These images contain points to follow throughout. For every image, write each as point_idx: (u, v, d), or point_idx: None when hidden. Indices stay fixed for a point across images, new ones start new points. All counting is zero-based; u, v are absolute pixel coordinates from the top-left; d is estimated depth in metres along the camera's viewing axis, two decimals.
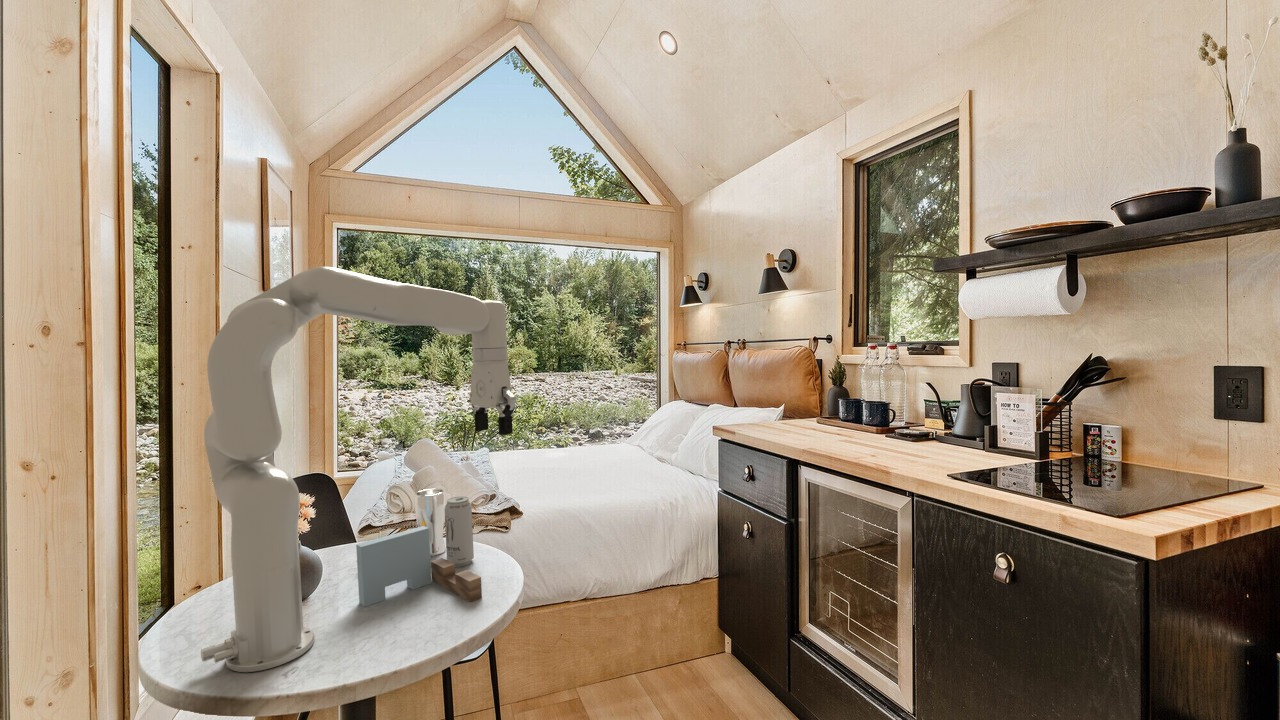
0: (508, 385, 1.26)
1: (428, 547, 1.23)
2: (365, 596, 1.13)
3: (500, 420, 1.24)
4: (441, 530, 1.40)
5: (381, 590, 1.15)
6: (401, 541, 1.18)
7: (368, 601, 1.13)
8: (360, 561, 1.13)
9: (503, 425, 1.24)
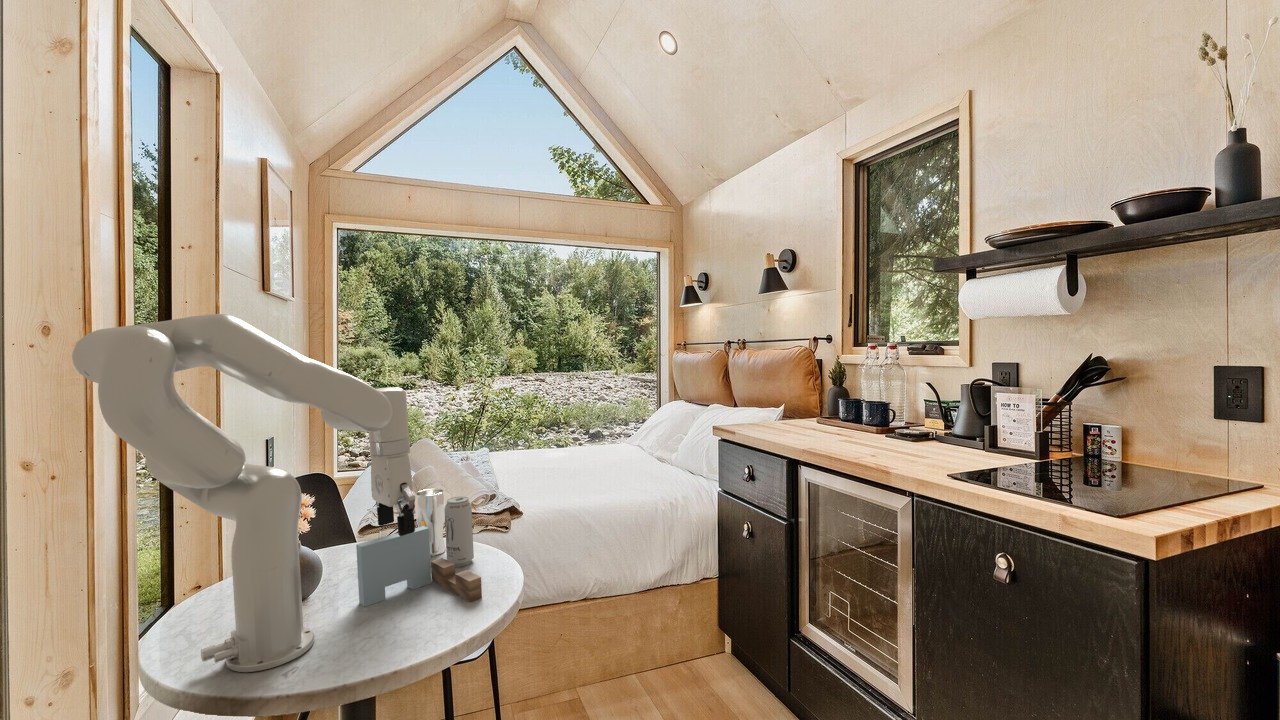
0: (409, 480, 1.16)
1: (428, 547, 1.23)
2: (365, 596, 1.13)
3: (399, 520, 1.14)
4: (441, 530, 1.40)
5: (381, 590, 1.15)
6: (401, 541, 1.18)
7: (368, 601, 1.13)
8: (360, 561, 1.13)
9: (403, 525, 1.14)
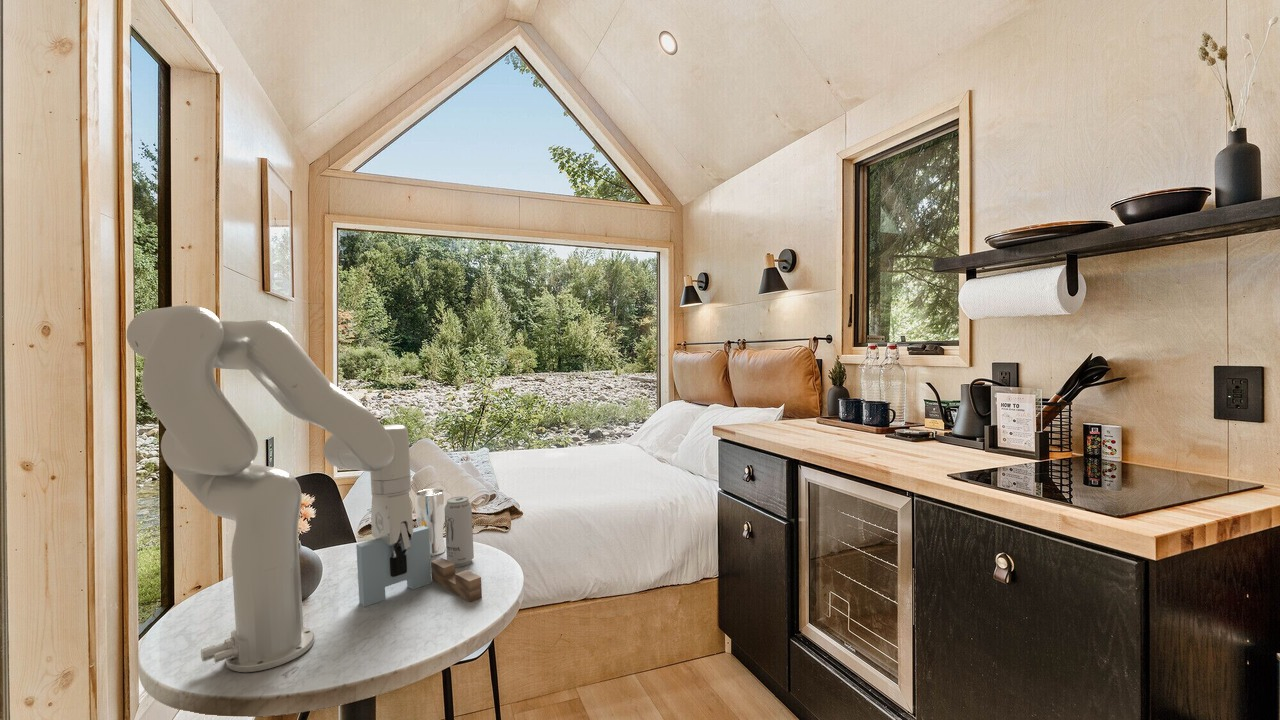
0: (409, 519, 1.16)
1: (428, 547, 1.23)
2: (365, 596, 1.13)
3: (392, 561, 1.16)
4: (441, 530, 1.40)
5: (381, 590, 1.15)
6: None
7: (368, 601, 1.13)
8: (360, 561, 1.13)
9: (395, 566, 1.17)
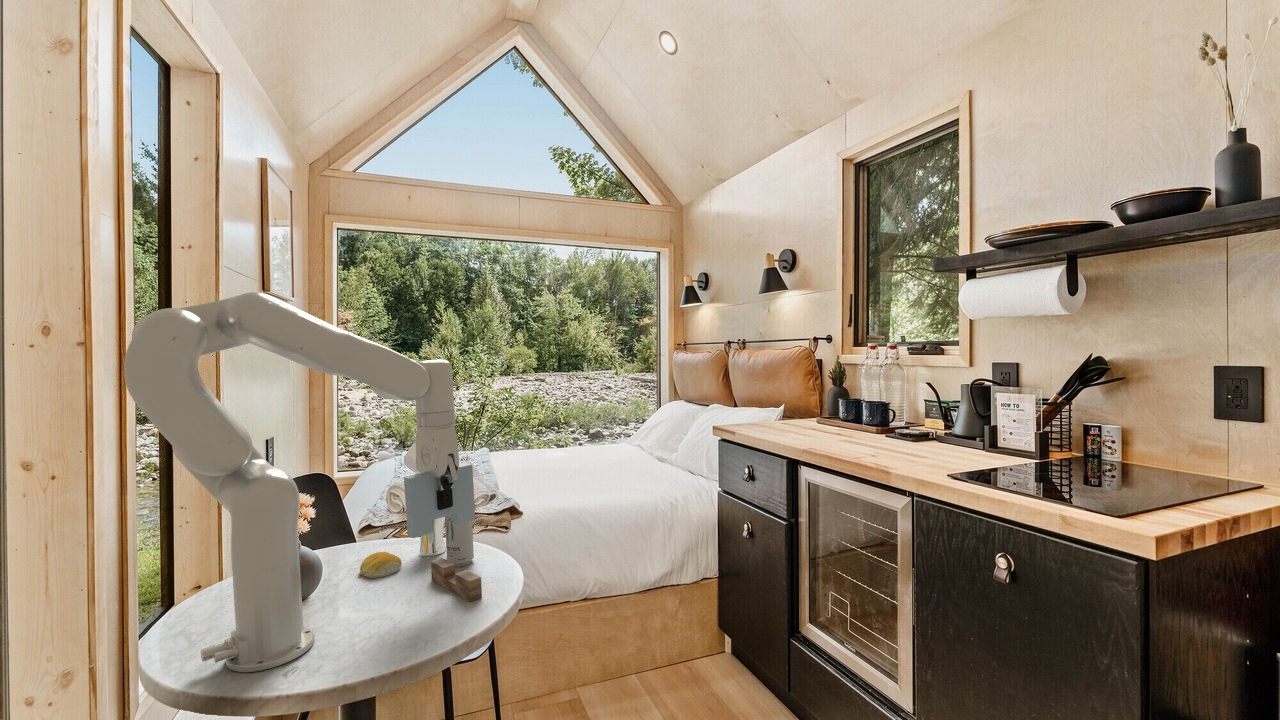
0: (455, 452, 1.16)
1: (472, 483, 1.23)
2: (414, 528, 1.14)
3: (438, 494, 1.17)
4: (441, 530, 1.40)
5: (429, 523, 1.16)
6: None
7: (417, 533, 1.14)
8: (408, 493, 1.13)
9: (442, 499, 1.17)
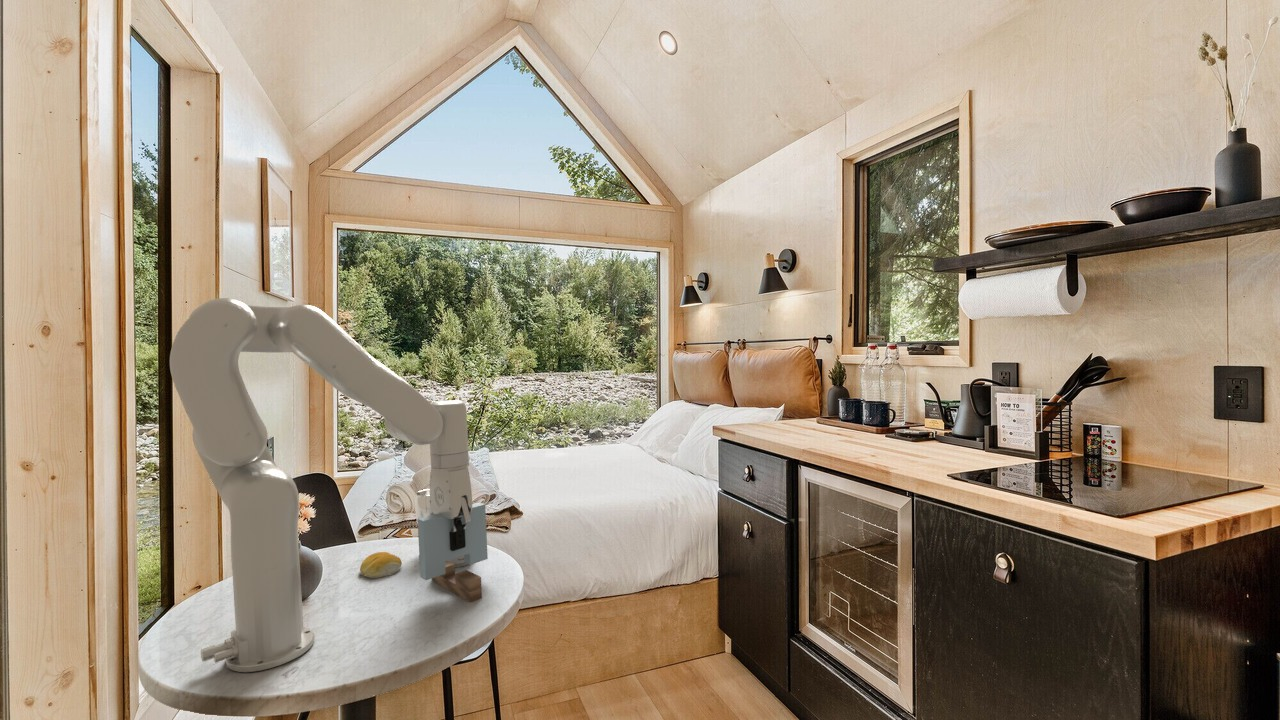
0: (469, 493, 1.17)
1: (485, 523, 1.23)
2: (427, 570, 1.14)
3: (451, 535, 1.17)
4: None
5: (441, 564, 1.16)
6: None
7: (430, 575, 1.14)
8: (422, 535, 1.14)
9: (455, 540, 1.17)
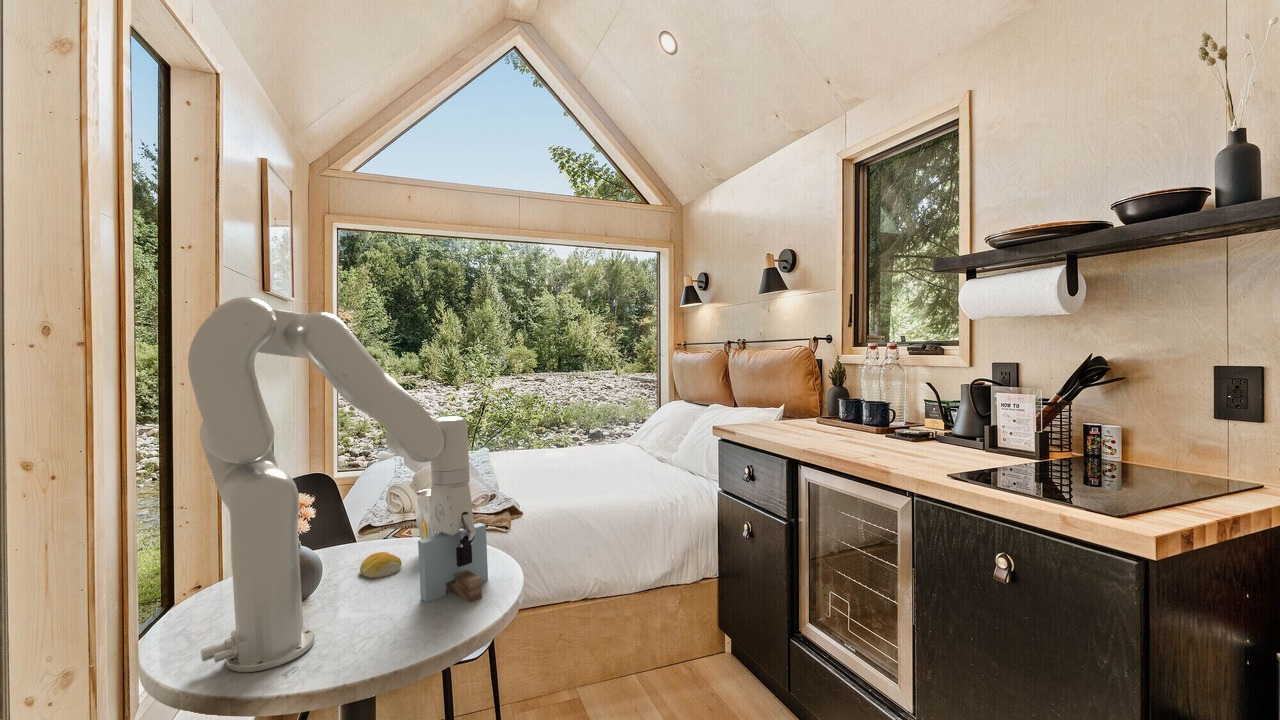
0: (469, 510, 1.17)
1: (485, 544, 1.24)
2: (427, 592, 1.14)
3: (458, 551, 1.16)
4: None
5: (442, 586, 1.16)
6: None
7: (430, 597, 1.14)
8: (422, 557, 1.14)
9: (461, 556, 1.16)
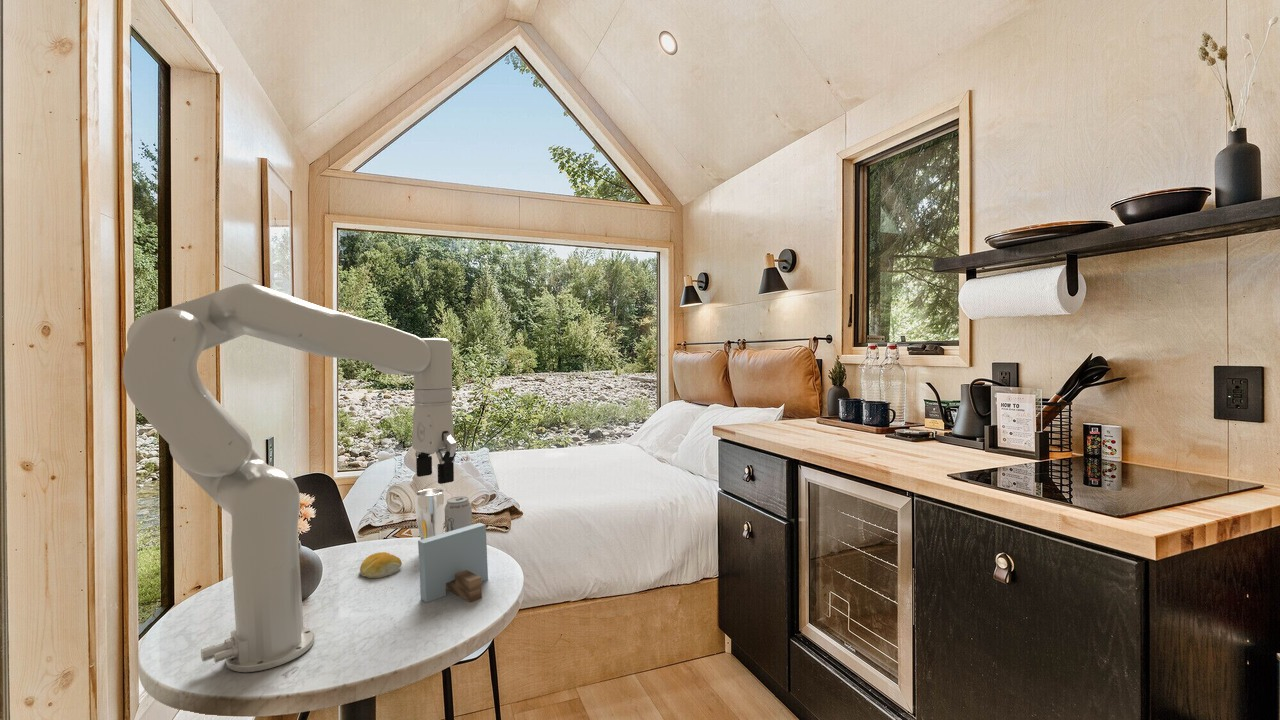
0: (450, 429, 1.17)
1: (485, 544, 1.24)
2: (427, 592, 1.14)
3: (439, 467, 1.15)
4: (441, 530, 1.40)
5: (442, 586, 1.16)
6: (460, 538, 1.19)
7: (430, 597, 1.14)
8: (422, 557, 1.14)
9: (443, 473, 1.15)
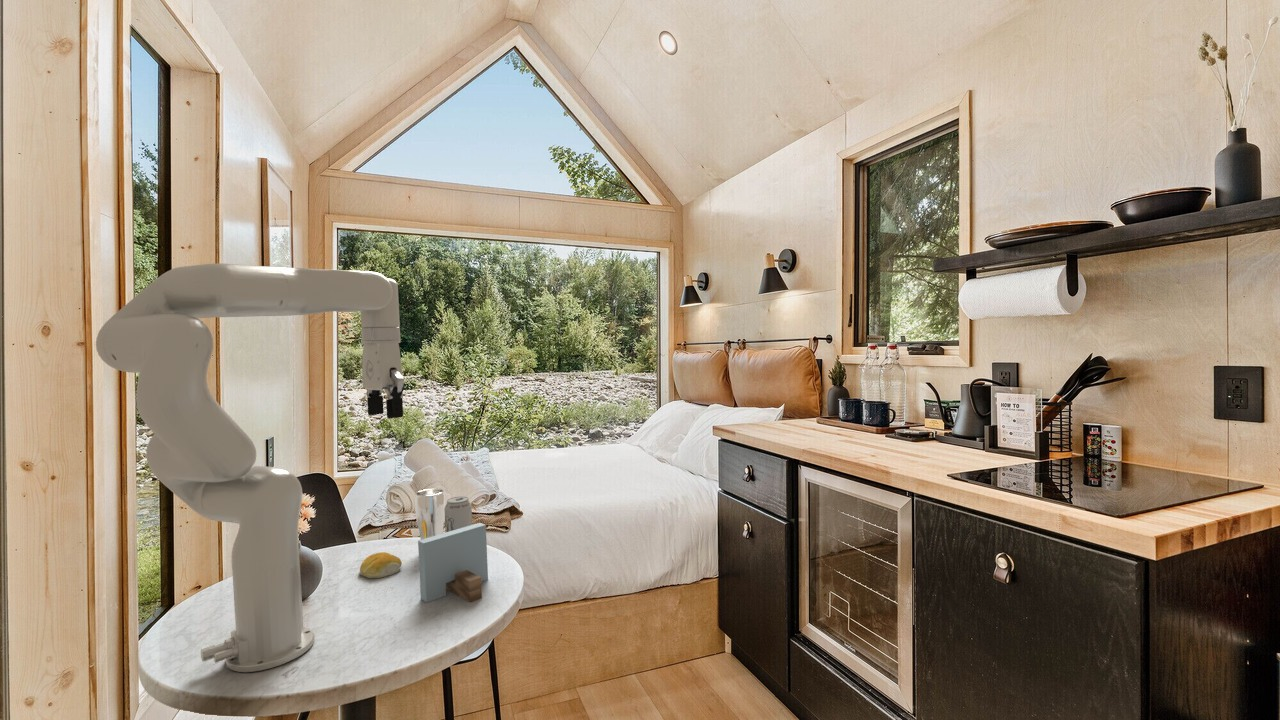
0: (398, 366, 1.20)
1: (485, 544, 1.23)
2: (427, 592, 1.14)
3: (388, 402, 1.18)
4: (441, 530, 1.40)
5: (442, 586, 1.16)
6: (460, 538, 1.19)
7: (430, 597, 1.14)
8: (422, 557, 1.14)
9: (391, 408, 1.19)
